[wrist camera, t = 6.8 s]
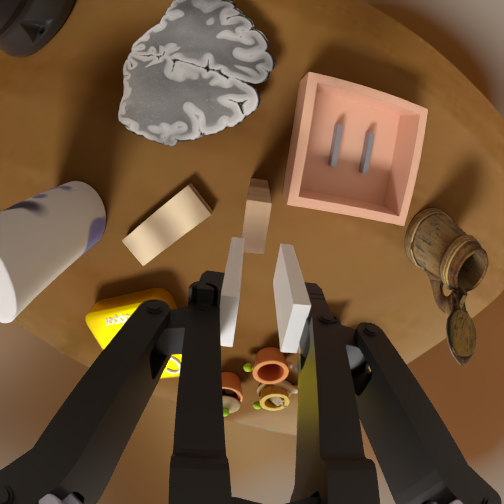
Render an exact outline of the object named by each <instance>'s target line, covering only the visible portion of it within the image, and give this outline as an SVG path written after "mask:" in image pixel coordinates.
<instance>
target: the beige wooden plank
mask: <svg viewBox="0 0 504 504" xmlns="http://www.w3.org/2000/svg"><path fill="white" fill-rule="evenodd" d="M212 212H213V211H212V209H211V208H210V207H209V206H208V204H207V203H206V202H205V200H204V199H203V198H202V197H201V195H200V194H199V193H198V191H197V190H196V189H195V188H194V186H193V185H192V184H191V183H190V184H189V185H188V186H187V187H185V188H184V189H183V190H181V191H180V192H179V193H178V194H176V195H175V196H174V197H173V198H172V199H170V200H169V201H168V202H167V203H165V204H164V205H163V206H162V207H161V208H159V209H158V210H157V211H156V212H155V213H153V214H152V215H151V216H150V217H149V218H147V219H146V220H145V221H144V222H143V223H142V224H141V225H139V226H138V227H137V228H136V229H135V230H134V231H133V232H131V233H130V234H129V235H128V236H127V237H126V238H125V239H124V240H123V243H124V244H125V245H126V246H127V247H128V249H129V250H130V251H131V252H132V253H133V255H134V256H135V257H136V258H137V259H138V261H139V262H140V263H141V264H142V265H143V266H144V265H145V264H147V263H148V262H149V261H150V260H152V259H153V258H154V257H156V256H157V255H158V254H159V253H161V252H162V251H163V250H165V249H166V248H167V247H168V246H170V245H171V244H172V243H174V242H175V241H176V240H178V239H179V238H180V237H182V236H183V235H184V234H186V233H187V232H188V231H190V230H191V229H192V228H194V227H195V226H196V225H198V224H199V223H200V222H202V221H203V220H205V219H206V218H207V217H209V216H210V215H211V214H212Z"/></svg>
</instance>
